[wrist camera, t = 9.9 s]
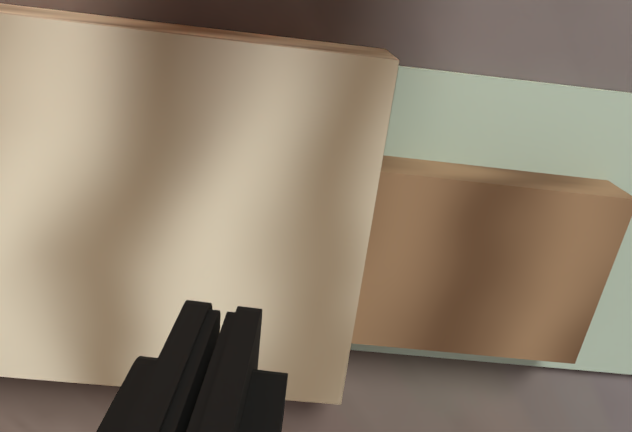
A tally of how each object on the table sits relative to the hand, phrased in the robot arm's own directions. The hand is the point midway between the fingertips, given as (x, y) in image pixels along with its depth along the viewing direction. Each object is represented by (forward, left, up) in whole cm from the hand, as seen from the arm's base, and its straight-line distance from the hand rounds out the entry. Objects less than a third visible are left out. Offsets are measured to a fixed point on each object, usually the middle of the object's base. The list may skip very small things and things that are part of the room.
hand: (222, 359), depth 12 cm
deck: (+4, 0, -10) cm, 10 cm away
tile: (-8, +1, -9) cm, 13 cm away
